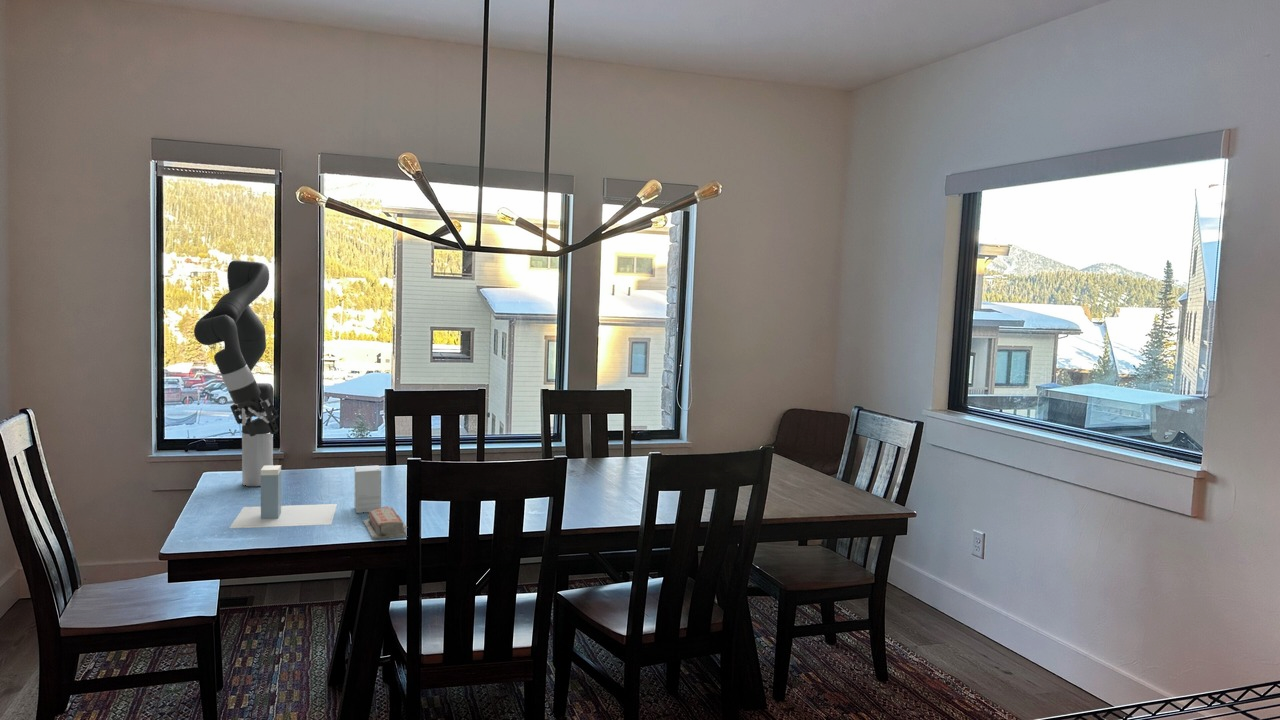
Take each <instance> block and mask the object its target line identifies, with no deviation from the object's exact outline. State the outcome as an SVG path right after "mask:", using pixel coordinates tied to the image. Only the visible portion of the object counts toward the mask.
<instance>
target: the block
mask: <svg viewBox="0 0 1280 720" xmlns="http://www.w3.org/2000/svg"><path fill="white" fill-rule="evenodd" d="M260 506H261V519H278V518H279V516H280V514H281V506H282V464H281V465H280V464H279V465H278V464H275V465H274V464H273V465H266V466H263V468H262V469H261V486H260Z"/></svg>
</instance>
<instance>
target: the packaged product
mask: <svg viewBox="0 0 1280 720" xmlns="http://www.w3.org/2000/svg"><path fill="white" fill-rule="evenodd" d="M362 521H363V523H364V525H365V527H366V529H367V532H368V534H370V537H371V538H372V540H375V541H376V540H385V539H386V540H387V539H395V538H397V539H398V538H406V537H405V536H406V527H407V525H406V523H405V522H404V521H403V519H402V518H401V516H400V514H397V512H396V510H395V509H394V508H393V507H392V506H391V507H390V506H388V505H386V506H381V508H379V509H376V510H373V511H370V512H368V518H367V519H365V518H364V519H362Z"/></svg>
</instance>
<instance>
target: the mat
mask: <svg viewBox="0 0 1280 720" xmlns="http://www.w3.org/2000/svg"><path fill="white" fill-rule="evenodd" d="M337 505H338V503H329V504H328V503H326V504H323V503H322V504H320V503H319V504H295V505H281V514H280V516H279V518H278V519H261V505H260V506H243V508H242V509H241V510H240V511H239V514H237V516H236V517H235V519H234V520H233V522H232V523H231V525H230V526H229V527H228V529H248V528H250V529H252V528H253V529H255V528H275V527H277V528H279V527H301V526H302V527H303V526H304V527H305V526H328V525H330V526H331V525H332V524H333V523H332V522H333V520H334V516H335V514H336V510H337Z"/></svg>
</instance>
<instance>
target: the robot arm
mask: <svg viewBox="0 0 1280 720" xmlns="http://www.w3.org/2000/svg"><path fill="white" fill-rule="evenodd" d="M226 274H227V276H226V277H227V286H228V292H227V293H225V294H223V295H222V296H221V297H220V298H219V300H217V302H216V304H215V306H214V307H213V308H212V309H211V310H210V311H208V312H206V314H204V315H203V316H202V317H201V318H200V319H198V320H197V322H196V324H195V326H194V329H193V333H194V334H193V335H194V337H195V340H196V341H197V342H198V343H199V344H201V345H203V346H204V345H205V346H211V345H215V344H219V343H224V347H223V349H220V350H219V351H218V352H216V353H215V354H214V356H213V359H214V362H215V364H216V366H217V369H218V371H219V373H220V374H221V377H222V380H223V381H222V382H223V383H224V385H225V388H226V389H227V391H228V393H229V395H230V398H231V399H232V402H233V404H232V405H230V410H231V412H232V415H233V417H234V419H235V421H236V423H237V424H238V425H240V424H241V425H242V426H241V449H242V450H241V459H242V461H241V470H242V471H241V472H242V473H241V475H242V476H241V480H242V481H241V482H242V486H245V485H246V487H261V469H262V468H263V466H266V465H274V457H273V456H274V435H275V434H277V433H279V428H278V424H277V422H276V420H275V419H277V418H278V417H279V414H278V411H277V409H276V408H275V406H274V400H275V399H274V397H275V395H274V394H275V393H274V387H273V384H271V383H267V382H263V383H261V382H258V383H257V381H256V378H255V376H254V375H253V372H252V371H253V369H254V367H255V366H256V365H257V364H258V362H259V361H260V360H261V358H262V356H263V355H264V353H265V351H266V349H267V339H266V338H267V336H266V328H265V326H264V324H263V322H262V321H261V319H260V318H259V317H258V315H257V314H256V313H255V311H254V310H253V309H252V308H251V306H250V304H251V303H253V302H254V301H255V300H256V299H257V298H258V297H259V296H260V295H262V294H263V292H265V291H266V289H267V288H268V286H269V281H270V269H269V268H268V265H266V264H265V263H263V262H259V261H249V260H248V261H246V260H236V259H235V260H231V261H230V262H229V263H228V266H227V273H226ZM253 417H254V418H255V419H253Z"/></svg>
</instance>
